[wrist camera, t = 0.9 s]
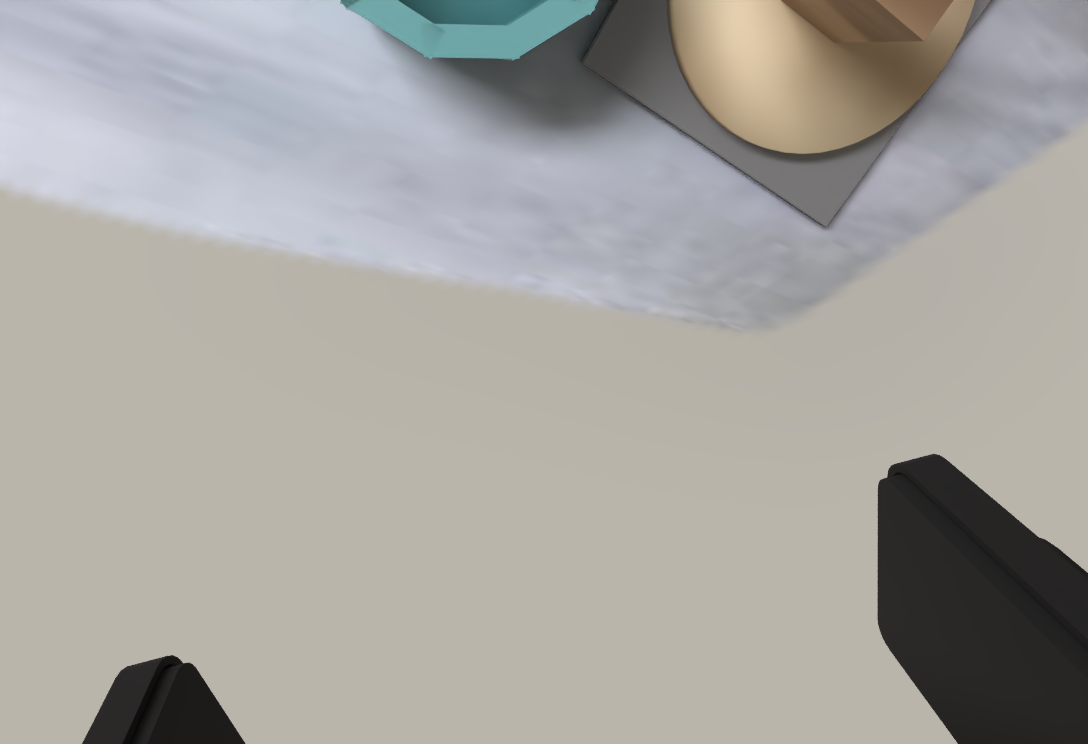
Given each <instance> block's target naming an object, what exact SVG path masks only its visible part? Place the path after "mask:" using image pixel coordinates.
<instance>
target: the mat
mask: <svg viewBox="0 0 1088 744" xmlns="http://www.w3.org/2000/svg"><path fill="white" fill-rule="evenodd" d="M990 1H991V0H975V2H974V6H973V9H972V12H971V15H970V18H969V20H968V22H967V25H966V27H965V30H964V32H963V35H962V37H961V39H960V41H959V43H960V42H961V40H962V39H963V38H964V36H965V35H966V34H967V32H968V31H969V29H970V28H971V27H972V25H973V24H974V23H975V21H976V20H977V18H978V17H979V16H980V14H981V13H982V12H983V10H984V9H985V7H986V6H987V5H988V3H989V2H990ZM959 43H958V44H957V46H958V45H959ZM957 46H956V47H957ZM955 49H956V48H955ZM581 63H582V64H583V65H585V66H586V67H588V68H589V69H591V70H592V71H594V72H595V73H597V74H598V75H600V76H601V77H603V78H604V79H606V80H607V81H609V82H610V83H612V84H613V85H615V86H616V87H617V88H619V89H620V90H622V91H623V92H625V93H626V94H628V95H629V96H631V97H632V98H634V99H635V100H637V101H638V102H640V103H641V104H643V105H644V106H646V107H647V108H649V109H650V110H652V111H653V112H655V113H656V114H658V115H659V116H661V117H662V118H663V119H665V120H666V121H668V122H669V123H671V124H672V125H674V126H675V127H677V128H678V129H680V130H681V131H683V132H684V133H686V134H687V135H689V136H690V137H692V138H693V139H695V140H696V141H698V142H699V143H701V144H702V145H704V146H705V147H706V148H708V149H709V150H711V151H712V152H714V153H715V154H717V155H718V156H720V157H721V158H723V159H724V160H726V161H727V162H729V163H730V164H732V165H733V166H735V167H736V168H738V169H739V170H741V171H742V172H744V173H745V174H747V175H748V176H749V177H751V178H752V179H754V180H755V181H757V182H758V183H760V184H761V185H763V186H764V187H766V188H767V189H769V190H770V191H772V192H773V193H775V194H776V195H778V196H779V197H781V198H782V199H784V200H785V201H787V202H788V203H790V204H791V205H792V206H794V207H795V208H797V209H798V210H800V211H801V212H803V213H804V214H806V215H807V216H809V217H810V218H812V219H813V220H815V221H816V222H818V223H819V224H821V225H823V226H825V227H826V226H827V225H828V224H829V222H830V221H831V219H832V218H833V217H834V215H835V214H836V213H837V211H838V210H839V208H840V207H841V206H842V204H843V203H844V202H845V200H846V199H847V197H848V196H849V195H850V193H851V192H852V191H853V189H854V188H855V186H856V185H857V184H858V182H859V181H860V180H861V178H862V177H863V175H864V174H865V173H866V171H867V170H868V169H869V167H870V166H871V164H872V163H873V162H874V160H875V159H876V158H877V156H878V155H879V153H880V152H881V151H882V149H883V148H884V146H885V145H886V144H887V142H888V141H889V140H890V138H891V137H892V135H893V134H894V133H895V131H896V130H897V129H898V127H899V126H900V124H901V123H902V122H903V120H904V119H905V118H906V116H907V115H908V113H909V112H910V111H911V109H912V108H913V107H914V105H915V104H916V102H917V101H918V100H919V99H918V100H917V101H916V102H915V103H914V104H913V105H912V106H911V107H910V108H909V109H908V110H907V111H906V112H904V113H903V114H902V115H901V116H900V117H898V118H897V119H896V120H895V121H893V122H892V123H891V124H889V125H888V126H886V127H884V128H883V129H881V130H880V131H878V132H877V133H875V134H873V135H871V136H869V137H867V138H865V139H863V140H861V141H859V142H857V143H854V144H851V145H848V146H845V147H843V148H840V149H835V150H831V151H826V152H821V153H808V154H798V153H784V152H780V151H776V150H771V149H767V148H764V147H760V146H757V145H755V144H752V143H750V142H747V141H745V140H742V139H740V138H739V137H737V136H735V135H734V134H732V133H730V132H728V131H727V130H725V129H724V128H723V127H722V126H721V125H719V124H718V123H717V122H716V121H714V120H713V119H712V118H711V117H710V116H709V115H708V113H707V112H706V111H705V110H704V109H703V108H702V107H701V106H700V104H699V103H698V102H697V100H696V99H695V97H694V96H693V94H692V93H691V91H690V90H689V88H688V86H687V84H686V82H685V80H684V78H683V76H682V74H681V72H680V69H679V66H678V63H677V61H676V58H675V55H674V52H673V48H672V43H671V38H670V33H669V27H668V16H667V0H615V2H614V4H613V6H612V8H611V9H610V11H609V13H608V15H607V16H606V18H605V20H604V22H603V24H602V25H601V27H600V29H599V31H598V33H597V34H596V36H595V38H594V40H593V41H592V43H591V45H590V47H589V49H588V50H587V52H586V54H585V56H584V58H583V59H582V61H581Z"/></svg>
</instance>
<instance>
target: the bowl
mask: <svg viewBox="0 0 1088 744" xmlns="http://www.w3.org/2000/svg"><path fill="white" fill-rule="evenodd" d="M597 2H598V0H341V2H340V3H341V4H343V5H344V6H345V8H346V9H347V10H350V11H352V12H354V13H357V14H359V15H360V16H362V17H364V18H365V19H367V20H368V21H370V22H372V23H373V24H375V25H376V26H378V27H380V28H381V29H383V30H384V31H386V32H388V33H389V34H391V35H392V36H394V37H396V38H397V39H399V40H401V41H402V42H404V43H405V44H407V45H409V46H410V47H412V48H413V49H415V50H417V51H418V52H420V53H421V54H423V55H424V57H428V58H429V59H432V57H439V58H497V59H505V60H511V61H513V60H515V59H520V56H521V55H523V54H525V53H526V52H528V51H529V50H531V49H533V48H534V47H536V46H537V45H539V44H541V43H542V42H544V41H546V40H547V39H549V38H550V37H552V36H554V35H555V34H557V33H558V32H560V31H562V30H563V29H565V28H567V27H568V26H570V25H571V24H573V23H575V22H576V21H578V20H579V19H581V18H583V17H585V16H589V15H591V13H592V11H594V10H595V6H596V4H597Z"/></svg>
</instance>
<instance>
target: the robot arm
mask: <svg viewBox="0 0 1088 744" xmlns="http://www.w3.org/2000/svg"><path fill="white" fill-rule="evenodd" d="M878 625H879V629H880V632H881V634H882V637H883V639H884V641H885V643H886V645H887V646H888V648H889V649H890V651H891V652H892V654H893V655H894V656H895V658H896V659H897V660H898V662H899V663H900V665H901V666H902V667H903V669H904V670H905V671H906V673H907V674H908V676H909V677H910V678H911V680H912V681H913V682H914V684H915V685H916V687H917V688H918V689H919V691H920V692H921V693H922V695H923V696H924V697H925V699H926V700H927V701H928V703H929V704H930V706H931V707H932V709H933V710H934V711H935V713H936V714H937V715H938V717H939V718H940V720H941V721H942V722H943V724H944V725H945V726H946V728H947V729H948V731H949V732H950V733H951V734H952V736H953V737H954V739H955V740H956V741H957V743H958V744H1088V573H1087V572H1086V571H1085V570H1084V569H1082V568H1081V567H1080V566H1079V565H1078V564H1076V563H1075V562H1074V561H1073V560H1071V559H1070V558H1069V557H1068V556H1067V555H1065V554H1064V553H1063V552H1062V551H1061V550H1059V549H1058V548H1057V547H1055V546H1054V545H1052V544H1051V543H1049V542H1048V541H1046V540H1045V539H1041V538H1039V537H1038V536H1036V535H1035V534H1034V533H1033V532H1032V531H1031V530H1029V529H1028V528H1027V527H1026V526H1025V525H1023V524H1022V523H1021V522H1020V521H1019V520H1017V519H1016V518H1015V517H1014V516H1013V515H1012V514H1010V513H1009V512H1008V511H1007V510H1006V509H1004V508H1003V507H1002V506H1001V505H1000V504H998V503H997V502H996V501H995V500H993V498H991V497H990V496H989V495H988V494H986V493H985V492H984V491H983V490H982V489H980V488H979V487H978V486H977V485H976V484H975V483H974V482H972V481H971V480H970V479H969V478H968V477H966V476H965V475H964V474H963V473H962V472H960V471H959V470H958V469H957V468H956V467H955V466H953V465H952V464H951V463H950V462H949V461H947V460H946V459H945V458H943V457H942V456H940V455H936V454H932V455H928V456H924V457H920V458H916V459H912V460H909V461H905V462H901V463H897V464H894V465H892V466H891V467H890V468H889V470H888V477H887V478H884V479H882V480H880V482H879V484H878ZM82 744H245V742H244V741H243V739H242V738H241V736H240V735H239V733H238V732H237V730H236V728H235V727H234V725H233V724H232V722H231V721H230V719H229V718H228V716H227V715H226V713H225V712H224V710H223V709H222V707H221V705H220V704H219V702H218V701H217V699H216V698H215V696H214V695H213V693H212V692H211V691H210V689H209V687H208V686H207V684H206V682H205V681H204V679H203V678H202V677H201V675H200V673H199V672H198V670H197V669H196V668H195V666H194V665H193V664H190V663H184V664H183V663H182V661H181V660H180V659H179V658H178V657H175V656H173V655H171V656H165V657H162V658H158V659H154V660H150V661H147V662H143V663H139V664H135V665H131V666H127V667H126V668H124V669H123V670H121V671H120V673H119V674H118V676H117V677H116V678H115V680H114V682H113V684H112V686H111V688H110V690H109V692H108V694H107V696H106V698H105V700H104V702H103V704H102V706H101V708H100V710H99V712H98V714H97V716H96V718H95V720H94V722H93V724H92V726H91V728H90V730H89V731H88V733H87V735H86V737H85V739H84V741H83V743H82Z"/></svg>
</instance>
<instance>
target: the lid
mask: <svg viewBox="0 0 1088 744" xmlns="http://www.w3.org/2000/svg"><path fill="white" fill-rule="evenodd" d="M974 2H975V0H667V16H668V27H669V33H670V38H671V43H672V48H673V52H674V55H675V58H676V61H677V63H678V66H679V69H680V72H681V74H682V76H683V78H684V80H685V82H686V84H687V86H688V88H689V90H690V91H691V93H692V94H693V96H694V97H695V99H696V100H697V102H698V103H699V104H700V106H701V107H702V108H703V109H704V110H705V111H706V112H707V113H708V115H709V116H710V117H711V118H712V119H713V120H714V121H716V122H717V123H718V124H719V125H721V126H722V127H723V128H724V129H725V130H727V131H728V132H730V133H732V134H734V135H735V136H737V137H739V138H740V139H742V140H745V141H747V142H750V143H752V144H755V145H757V146H760V147H764V148H767V149H771V150H776V151H780V152H784V153H798V154H808V153H821V152H826V151H831V150H835V149H840V148H843V147H845V146H848V145H851V144H854V143H857V142H859V141H861V140H863V139H865V138H867V137H869V136H871V135H873V134H875V133H877V132H878V131H880V130H881V129H883V128H884V127H886V126H888V125H889V124H891V123H892V122H893V121H895V120H896V119H897V118H898V117H900V116H901V115H902V114H903V113H904V112H906V111H907V110H908V109H909V108H910V107H911V106H912V105H913V104H914V103H915V102H916V101H917V100H918V99H919V98H920V97H921V96H922V95H923V94H924V93H925V92H926V91H927V89H928V88H929V87H930V86H931V84H932V83H933V82H934V81H935V79H936V78H937V77H938V76H939V74H940V73H941V71H942V70H943V68H944V67H945V65H946V64H947V62H948V61H949V59H950V57H951V56H952V54H953V52H954V50H955V48H956V46H957V44H958V43H959V41H960V39H961V37H962V35H963V32H964V30H965V27H966V25H967V22H968V20H969V18H970V15H971V12H972V9H973V6H974Z"/></svg>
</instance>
